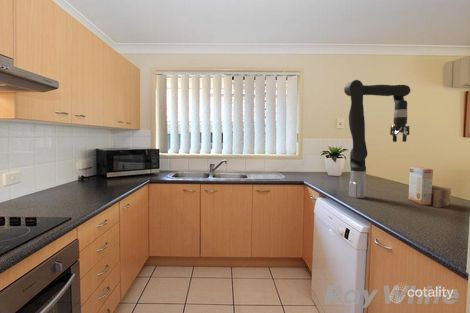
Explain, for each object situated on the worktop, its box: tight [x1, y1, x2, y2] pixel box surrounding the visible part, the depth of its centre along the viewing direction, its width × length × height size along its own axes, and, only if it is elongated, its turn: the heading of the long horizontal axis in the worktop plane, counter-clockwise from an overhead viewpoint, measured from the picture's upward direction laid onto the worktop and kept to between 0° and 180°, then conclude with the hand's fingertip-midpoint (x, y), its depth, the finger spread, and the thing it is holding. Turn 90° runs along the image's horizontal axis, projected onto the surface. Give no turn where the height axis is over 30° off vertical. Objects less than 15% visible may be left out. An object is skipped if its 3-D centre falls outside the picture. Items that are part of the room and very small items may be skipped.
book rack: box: [431, 184, 452, 208], centre depth 164 cm, size 10×21×10 cm, turn 20°
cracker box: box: [407, 166, 434, 206], centre depth 164 cm, size 14×6×21 cm, turn 174°
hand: (399, 141), depth 179 cm, fingers open, 8 cm apart
